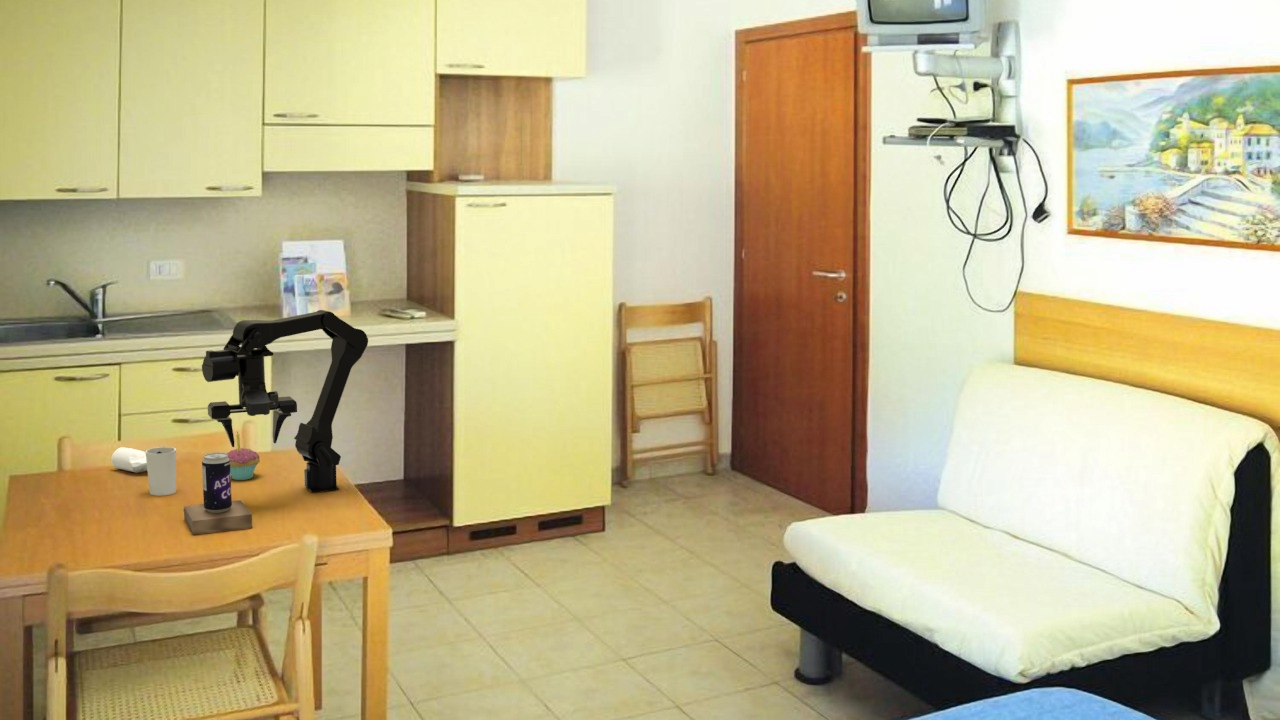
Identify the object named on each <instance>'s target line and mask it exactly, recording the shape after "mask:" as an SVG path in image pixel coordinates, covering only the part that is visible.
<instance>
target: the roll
mask: <svg viewBox="0 0 1280 720" xmlns="http://www.w3.org/2000/svg"><path fill="white" fill-rule="evenodd" d="M110 460H111V464H112V466H113V468H115V469H118V470H123V471H127V472H132V473H138V474H139V473H143V472H145V471H147V461H146V451H143V450H140V449H136V448H130V447H123V446H121V447H119V448H117V449H116V450H115V451H114V452H113V453H112V454H111V458H110Z"/></svg>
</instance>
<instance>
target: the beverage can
mask: <svg viewBox="0 0 1280 720" xmlns="http://www.w3.org/2000/svg"><path fill="white" fill-rule="evenodd" d="M201 470H202V472H201V473H202V492H203V493H202V494H203V504H204V508H205V509H207V510H208V512H211V513H220V512H225V511H227V510H228V509H229V508H230V507H231V506H232V501H233V500H232V498H233V497H232V476H231V473H230V460H229V458H228V454H227V453H225V452H211V453H206V454H204V455H203V459H202V461H201Z"/></svg>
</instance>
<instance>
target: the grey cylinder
mask: <svg viewBox="0 0 1280 720" xmlns="http://www.w3.org/2000/svg"><path fill="white" fill-rule="evenodd" d="M145 452H146V461H147V470H146V471H147V479H148V488H149V489H148V491H149V494H150V495H151V496H159V497H160V496H168V495H174V494H175V493H177V448H176V447H171V446H159V447H151V448H149V449H146V450H145Z"/></svg>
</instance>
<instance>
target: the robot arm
mask: <svg viewBox="0 0 1280 720" xmlns="http://www.w3.org/2000/svg"><path fill="white" fill-rule="evenodd" d="M319 330H322V331H323V332H324V334H325V335H326V336H328V337H329V338H330V339H331V340H332V341H331V347H330V354H331V363H330V366H329V368H328V372H327V374H326V377H325V379H324V383H323V386H322V388H321V391H320V394H319V397H318V399H317V403H316V405H315V409H314V411H313V413H312V416H311V418H310V419H309V420H308V422H307V423H303V422H300V423H299V425H298V431H297V434H296V435H295V436H294V440H295V442H294V443H295V444H294V446H295V449H296V451H297V452H298V454H300V455H301V457H302V459H303V461H304V462H306V468H305V469H304V472H303V473H304V474H303V475H304V486H305V488H307V490H308V491H309V492H310V493H320V492H328V491H330V492H331V491H337V490H339V488H340V487H339V486H338V485H337V466H338V465H339V464H340V461H341V457H342V456H341V455H340V454H339V453H338V452H336V451H335V450H334V449H333V448H332V444H333V437H334V436H333V428H332V427H333V421H334V419H335V416H336V413H337V411H338V407H339V404H340V403H341V402H340V401H341V398H342V396H343V393H344V391H345V387H346V384H347V381H348V379H349V376H350V373H351V370H352V368H353V367H354V366H355V365H356V363H357V362H359V360H360V359H361V358H362V356H363V354H364V353H365V351H366V349H367V347H368V343H369V338H368V335H367V333H366V332H365V331H364V330H362V328H361V329H359V328H357V327H354V326H352V325H351V324H349V323H347V322H346V321H344V320H343V319H341V318H339V317H338V316H337V315H336V314H335V313H334V312H332V311H329V310H324V309H318V310H317V311H313V312H308V313H304V314H298V315H294V316H288V317H283V318H278V319H274V320H264V319H263V320H260V319H246V320H245V319H243V320H242V319H241V320H240V321H238V322H236V324H235V326H234V328H233V330H232V334H231V336H230V338H229V339H228V341H226V344H225V345H224V347H223V349H222V350H221V349H220V350H212V349H211V350H206V351H205V356H204V358H203V360H202V363H201V372H202V376H203V378H204V380H205V381H206V382H207V383H211V382H219V381H220V382H221V381H229V380H230V381H231V380H234V379H235V378H236V377H238V380H237V381H238V404H229V403H228V402H227V401H213V402H209V403H208V404H207V415H208V416H209V418H210V419H212V420H216V421H217V422H218V423H221V425H222V427H223V428H224V430H225V433H226V435H227V438H228V440H229V443H230V445H231V447H232V448H235V438H234V437H235V436H234V431H233V419H232V417H230V416H231V414H239V413H241V414H242V413H246V414H247V416H249V417H255V416H259V415H264V416H267V415H270V413H271V412H270V411H272V415H273V416H272V441H273V444H277V441H278V439H279V435H280V431H281V429H282V426H283V424H284V422H285V420H286V419H287V418H288V417H291V416H292V414H293V413H294V414H295V413H297V412H298V404H297V403H298V402H297V401H296V400H295V399H293V398H292V397H291V396H289V395H288V396H279V392H278V391H273V390H272V391H267V387H266V379H265V378H266V375H265V373H266V372H265V357H272V356H274V352H272V351H271V350H270V349H269V348H268V347H267V345H270V344H272V343H274V342H276V340H278V339H280V338H285V337H289V336H294V335H300V334H303V333H309V332H314V331H319Z"/></svg>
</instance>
